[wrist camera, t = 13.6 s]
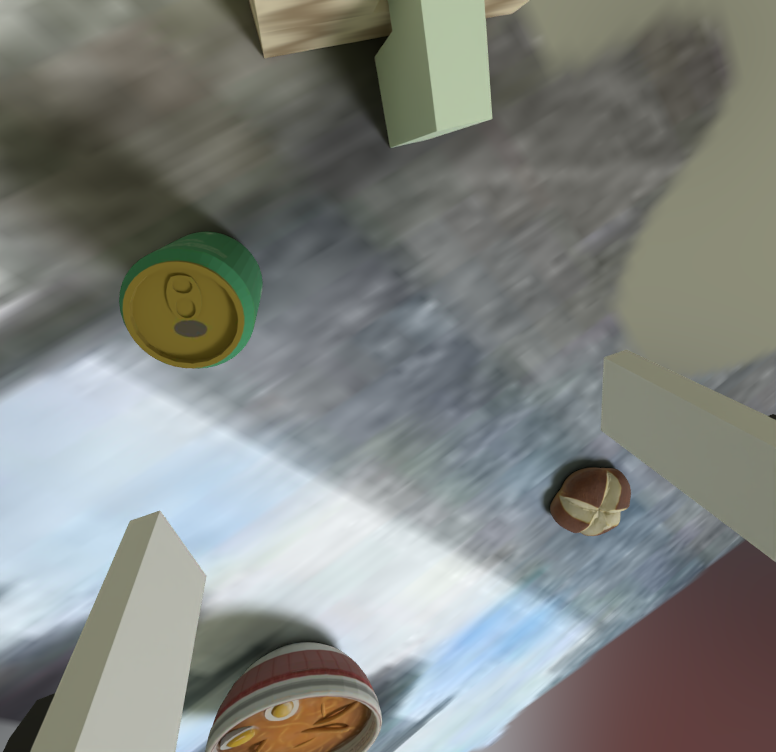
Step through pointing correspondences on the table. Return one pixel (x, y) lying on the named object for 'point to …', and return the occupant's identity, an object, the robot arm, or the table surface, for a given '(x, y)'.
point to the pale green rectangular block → (434, 69)
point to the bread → (591, 501)
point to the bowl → (298, 705)
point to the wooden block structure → (332, 22)
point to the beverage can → (193, 300)
